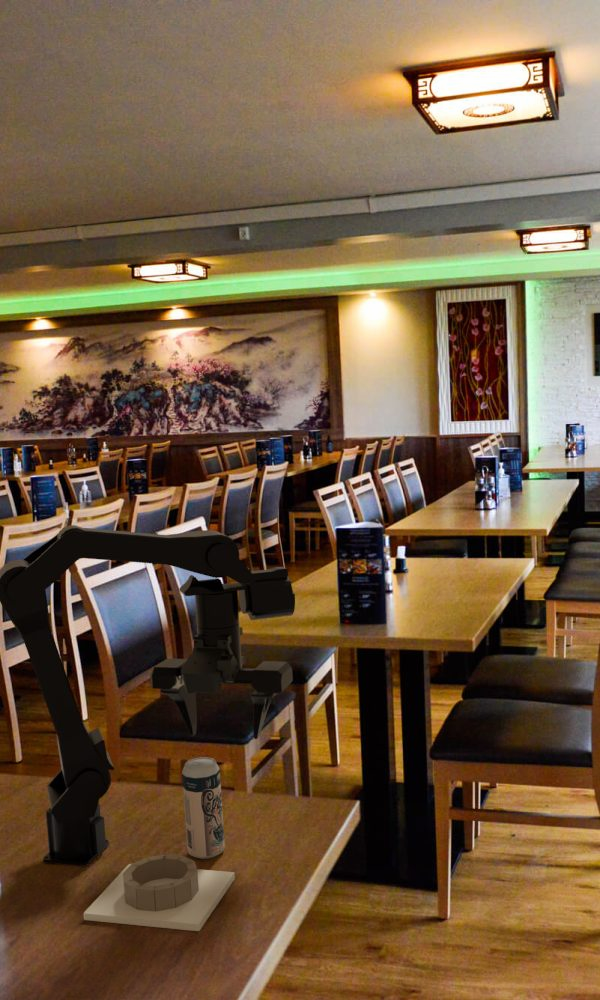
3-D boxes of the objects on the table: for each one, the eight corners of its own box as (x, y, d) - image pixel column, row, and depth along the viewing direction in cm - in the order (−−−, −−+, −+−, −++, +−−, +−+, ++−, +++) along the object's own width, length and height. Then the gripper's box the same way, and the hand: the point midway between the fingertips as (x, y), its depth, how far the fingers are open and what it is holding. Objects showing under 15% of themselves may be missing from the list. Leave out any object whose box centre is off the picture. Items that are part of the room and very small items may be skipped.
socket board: (84, 919, 111) (81, 892, 110) (129, 869, 122) (127, 844, 122) (198, 931, 107) (197, 902, 107) (234, 878, 118) (233, 852, 118)
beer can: (218, 862, 123) (212, 770, 122) (182, 860, 124) (176, 769, 123) (229, 844, 128) (223, 756, 126) (194, 843, 129) (188, 755, 127)
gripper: (128, 637, 126) (136, 754, 128) (265, 640, 121) (271, 762, 122) (163, 618, 137) (170, 726, 138) (290, 620, 132) (296, 732, 133)
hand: (224, 736), depth 133 cm, fingers open, 9 cm apart
